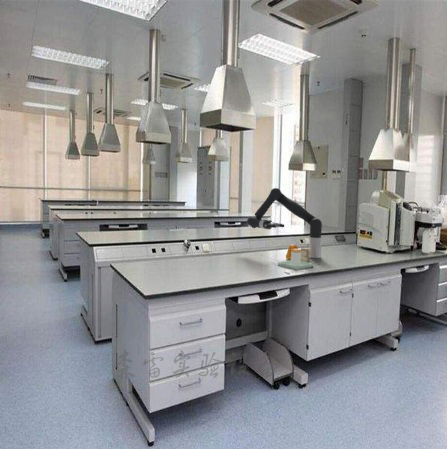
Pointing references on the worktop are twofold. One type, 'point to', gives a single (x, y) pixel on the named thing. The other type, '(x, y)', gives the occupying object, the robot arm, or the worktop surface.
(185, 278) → the worktop surface
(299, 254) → the labelled box
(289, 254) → the bracket
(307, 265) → the tray
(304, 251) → the plain box
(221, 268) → the worktop surface
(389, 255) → the worktop surface
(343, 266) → the worktop surface
